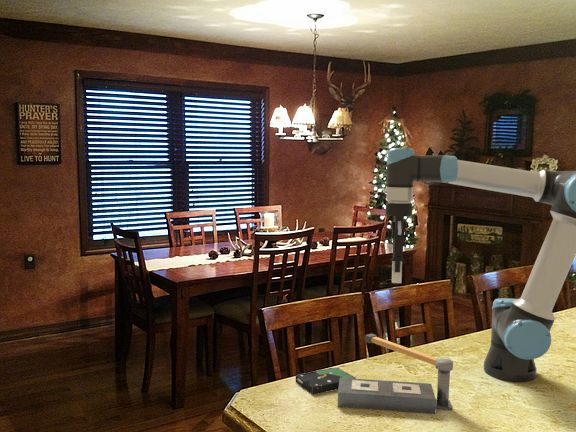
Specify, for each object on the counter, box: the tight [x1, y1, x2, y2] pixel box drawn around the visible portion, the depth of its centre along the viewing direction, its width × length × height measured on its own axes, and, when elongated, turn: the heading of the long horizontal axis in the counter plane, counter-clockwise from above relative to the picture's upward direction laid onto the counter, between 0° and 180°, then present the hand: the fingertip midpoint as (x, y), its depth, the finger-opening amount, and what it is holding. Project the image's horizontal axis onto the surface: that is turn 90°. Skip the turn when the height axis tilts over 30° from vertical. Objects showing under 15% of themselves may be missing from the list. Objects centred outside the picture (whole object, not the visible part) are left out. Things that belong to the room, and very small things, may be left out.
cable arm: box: [364, 333, 454, 372], centre depth 154 cm, size 30×4×2 cm, turn 38°
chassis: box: [337, 378, 437, 415], centre depth 147 cm, size 25×10×4 cm, turn 82°
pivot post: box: [435, 369, 453, 411], centre depth 145 cm, size 4×4×10 cm
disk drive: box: [295, 367, 357, 396], centre depth 159 cm, size 10×3×15 cm
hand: (396, 282), depth 160 cm, fingers closed
